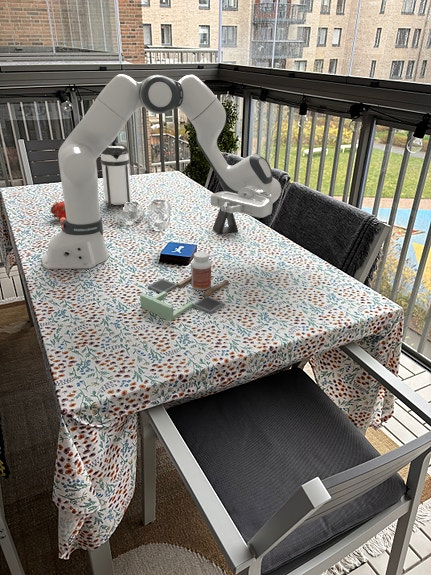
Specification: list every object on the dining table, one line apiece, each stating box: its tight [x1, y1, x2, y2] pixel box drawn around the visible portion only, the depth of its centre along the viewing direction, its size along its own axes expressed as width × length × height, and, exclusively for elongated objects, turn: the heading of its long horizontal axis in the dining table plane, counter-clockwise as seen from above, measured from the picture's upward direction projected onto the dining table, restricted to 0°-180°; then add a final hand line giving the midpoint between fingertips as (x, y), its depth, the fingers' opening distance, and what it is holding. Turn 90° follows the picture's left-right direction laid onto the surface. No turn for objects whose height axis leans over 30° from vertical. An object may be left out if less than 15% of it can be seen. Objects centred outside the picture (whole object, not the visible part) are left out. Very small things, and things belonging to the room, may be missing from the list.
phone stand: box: [212, 207, 239, 235], centre depth 181 cm, size 9×6×12 cm, turn 112°
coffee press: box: [100, 138, 132, 209], centre depth 204 cm, size 17×16×30 cm
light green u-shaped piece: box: [139, 291, 194, 321], centre depth 128 cm, size 10×11×4 cm
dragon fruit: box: [49, 200, 67, 221], centre depth 189 cm, size 8×8×12 cm
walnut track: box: [176, 276, 230, 298], centre depth 141 cm, size 12×11×1 cm
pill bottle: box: [190, 251, 212, 291], centre depth 138 cm, size 6×6×11 cm
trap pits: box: [147, 278, 225, 315], centre depth 135 cm, size 7×25×1 cm, turn 54°
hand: (225, 209), depth 139 cm, fingers closed
